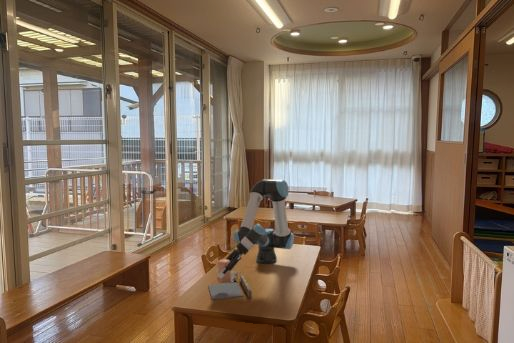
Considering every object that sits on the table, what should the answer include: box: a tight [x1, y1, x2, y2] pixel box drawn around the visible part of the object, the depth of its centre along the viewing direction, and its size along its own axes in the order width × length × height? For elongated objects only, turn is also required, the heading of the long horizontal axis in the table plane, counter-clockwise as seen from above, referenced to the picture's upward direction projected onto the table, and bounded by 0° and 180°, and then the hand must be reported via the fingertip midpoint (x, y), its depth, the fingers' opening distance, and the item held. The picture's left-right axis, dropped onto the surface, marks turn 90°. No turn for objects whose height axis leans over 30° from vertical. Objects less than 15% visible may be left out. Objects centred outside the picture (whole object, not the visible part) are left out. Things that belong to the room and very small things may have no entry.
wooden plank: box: [239, 274, 253, 299], centre depth 222 cm, size 26×2×4 cm, turn 13°
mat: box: [208, 281, 244, 301], centre depth 219 cm, size 20×18×1 cm
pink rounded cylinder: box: [217, 258, 231, 284], centre depth 217 cm, size 7×7×12 cm
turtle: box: [217, 269, 242, 283], centre depth 236 cm, size 16×10×10 cm, turn 83°
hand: (218, 274), depth 217 cm, fingers closed on pink rounded cylinder, 7 cm apart
